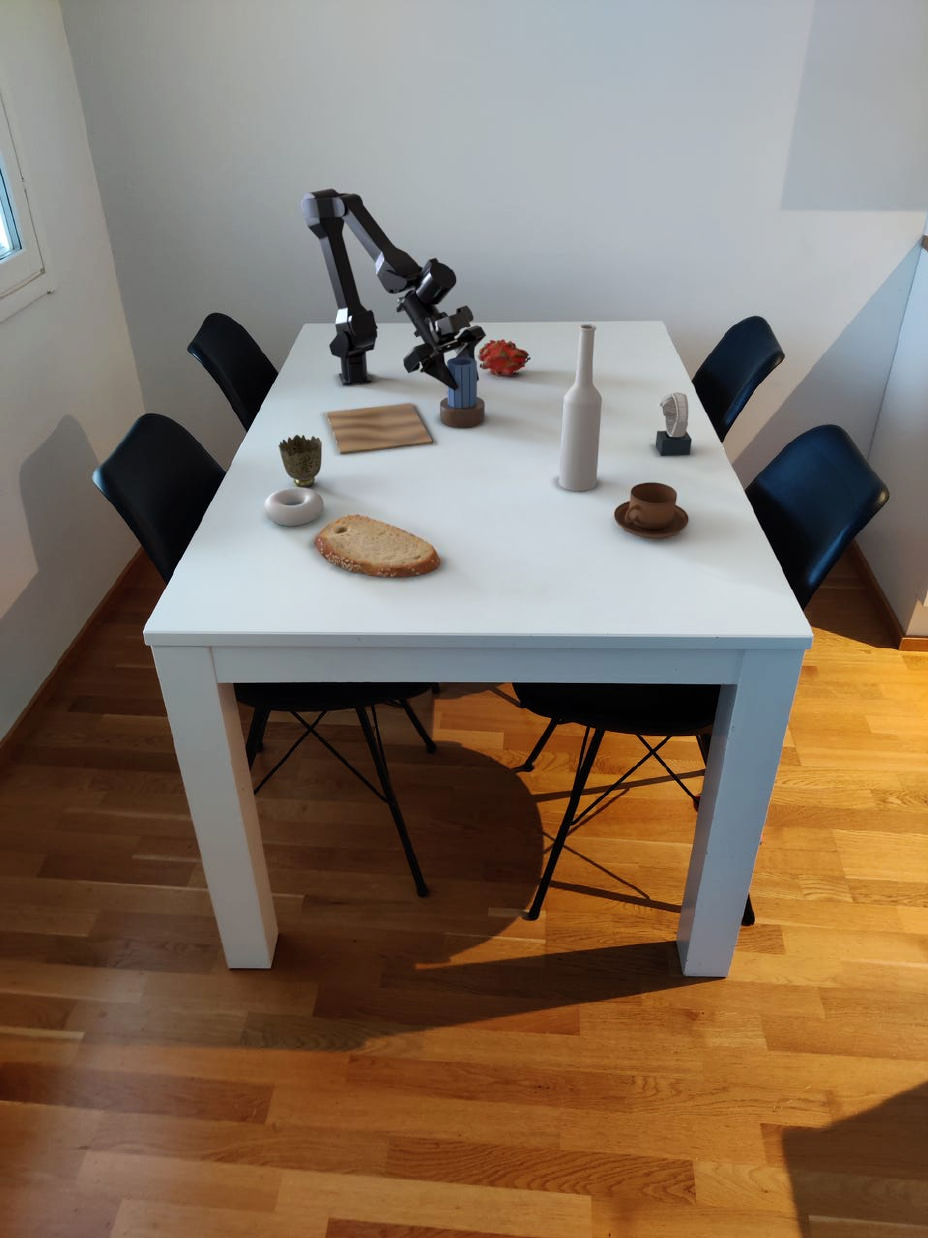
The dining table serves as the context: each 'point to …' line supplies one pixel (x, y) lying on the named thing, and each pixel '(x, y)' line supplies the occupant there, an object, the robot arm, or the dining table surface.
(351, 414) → the wooden board
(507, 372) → the dragon fruit
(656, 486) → the cup and saucer
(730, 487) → the dining table surface
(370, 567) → the bread slice
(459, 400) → the sleeve
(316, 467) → the cup
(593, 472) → the bottle
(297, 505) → the donut
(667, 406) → the watch
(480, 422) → the stand
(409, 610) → the dining table surface
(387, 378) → the dining table surface
